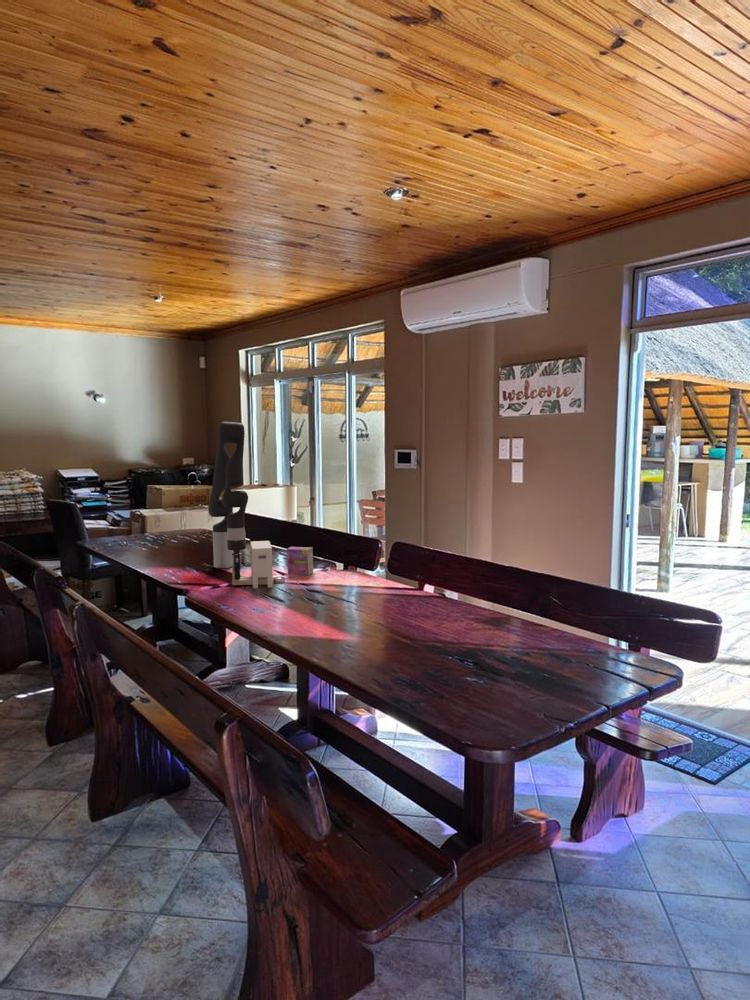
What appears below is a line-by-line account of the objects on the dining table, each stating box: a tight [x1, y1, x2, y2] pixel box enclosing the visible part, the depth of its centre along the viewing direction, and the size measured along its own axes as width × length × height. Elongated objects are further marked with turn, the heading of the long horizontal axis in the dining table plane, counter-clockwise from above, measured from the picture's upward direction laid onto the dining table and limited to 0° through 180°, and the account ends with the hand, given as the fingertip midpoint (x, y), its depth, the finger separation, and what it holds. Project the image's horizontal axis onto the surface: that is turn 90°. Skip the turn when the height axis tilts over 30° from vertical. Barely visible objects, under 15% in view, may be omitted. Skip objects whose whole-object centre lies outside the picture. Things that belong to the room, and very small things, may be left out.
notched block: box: [250, 540, 274, 589], centre depth 271 cm, size 19×8×16 cm, turn 13°
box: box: [286, 546, 314, 576], centre depth 289 cm, size 10×6×12 cm, turn 73°
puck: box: [273, 575, 286, 584], centre depth 274 cm, size 5×5×2 cm
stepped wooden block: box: [231, 564, 275, 586], centre depth 271 cm, size 7×17×8 cm, turn 103°
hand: (237, 578), depth 270 cm, fingers closed on stepped wooden block, 3 cm apart
